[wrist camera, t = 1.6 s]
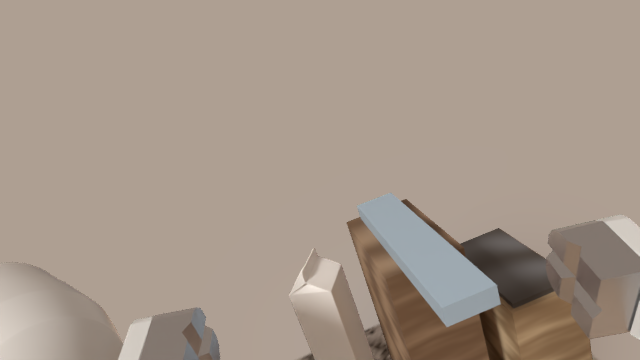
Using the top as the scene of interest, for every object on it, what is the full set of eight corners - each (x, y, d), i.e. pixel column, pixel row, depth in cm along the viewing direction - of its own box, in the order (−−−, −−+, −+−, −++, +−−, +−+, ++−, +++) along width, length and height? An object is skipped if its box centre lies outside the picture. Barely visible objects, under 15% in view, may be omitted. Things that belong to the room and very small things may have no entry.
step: (598, 406, 50) (582, 278, 44) (536, 434, 49) (511, 308, 43) (520, 331, 63) (499, 225, 57) (470, 353, 62) (444, 247, 56)
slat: (500, 304, 33) (496, 284, 32) (446, 327, 32) (441, 307, 32) (394, 205, 53) (390, 192, 53) (360, 218, 53) (356, 205, 52)
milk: (377, 367, 65) (335, 243, 58) (371, 402, 60) (324, 270, 52) (339, 368, 67) (294, 248, 60) (330, 402, 62) (279, 275, 54)
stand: (507, 438, 49) (463, 247, 41) (444, 467, 49) (385, 279, 40) (448, 356, 63) (405, 199, 54) (398, 378, 62) (346, 222, 53)
